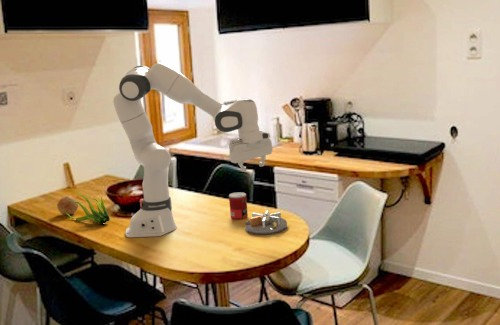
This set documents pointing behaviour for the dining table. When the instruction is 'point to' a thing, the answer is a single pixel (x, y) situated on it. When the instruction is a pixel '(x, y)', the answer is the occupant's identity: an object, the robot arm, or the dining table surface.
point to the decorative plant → (93, 211)
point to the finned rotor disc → (265, 219)
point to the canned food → (238, 205)
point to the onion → (67, 205)
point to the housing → (268, 230)
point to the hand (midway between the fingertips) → (252, 168)
